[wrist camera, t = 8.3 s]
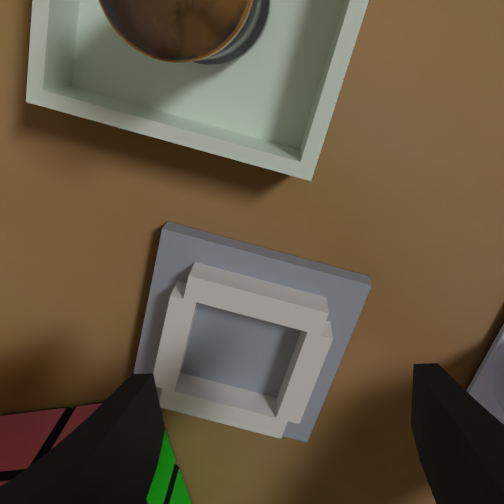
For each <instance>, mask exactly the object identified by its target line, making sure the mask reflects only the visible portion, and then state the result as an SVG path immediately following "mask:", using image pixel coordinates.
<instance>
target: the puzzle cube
mask: <svg viewBox="0 0 504 504" xmlns="http://www.w3.org/2000/svg"><path fill="white" fill-rule="evenodd" d="M101 404H102V403H99V404H91V405H83V406H77V407H76V408H75V410H74V411H73V410H72V409H71V408H59V409H51V410H43V411H35V412H27V413H19V414H11V415H3V416H0V486H2V485H3V484H5V483H6V482H8V481H9V480H11V479H13V478H14V477H15V476H17V475H18V474H20V473H21V472H23V471H24V470H25V469H27V468H28V467H29V466H31V465H32V464H33V463H35V462H36V461H37V460H39V459H40V458H41V457H42V456H44V455H45V454H46V453H48V452H49V451H50V450H51V449H52V448H54V447H55V446H56V445H57V444H58V443H60V442H61V441H62V440H63V439H64V438H65V437H66V436H67V435H69V434H70V433H71V432H72V431H73V430H74V429H75V428H77V427H78V426H79V425H80V424H81V423H82V422H83V421H84V420H86V419H87V418H88V417H89V416H90V415H91V414H92V413H93V412H94V411H95V410H96V409H97V408H98V407H99V406H100V405H101ZM175 461H176V458H175V455H174V452H173V449H172V446H171V444H170V441H169V438H168V435H167V432H166V429H165V432H164V438H163V443H162V448H161V453H160V457H159V462H158V466H157V469H156V472H155V475H154V478H153V481H152V484H151V487H150V490H149V493H148V496H147V499H146V502H145V504H192V503H191V500H190V497H189V494H188V491H187V488H186V485H185V483H184V480H183V477H182V474H181V471H180V468H179V467H178V466H177V465H176V464H175Z"/></svg>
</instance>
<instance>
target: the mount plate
mask: <svg viewBox="0 0 504 504" xmlns="http://www.w3.org/2000/svg"><path fill="white" fill-rule="evenodd" d="M371 286H372V285H371V282H370V279H369V276H366V275H363V274H359V273H355V272H352V271H348V270H344V269H341V268H337V267H333V266H330V265H326V264H322V263H318V262H315V261H311V260H307V259H304V258H300V257H296V256H293V255H289V254H285V253H282V252H278V251H274V250H271V249H267V248H263V247H260V246H256V245H252V244H249V243H245V242H241V241H238V240H234V239H230V238H227V237H223V236H219V235H215V234H212V233H208V232H204V231H201V230H197V229H193V228H190V227H186V226H182V225H179V224H175V223H171V222H168V221H167V223H166V224H165V225H164V227H163V228H162V232H161V237H160V242H159V247H158V252H157V257H156V262H155V267H154V272H153V277H152V283H151V288H150V293H149V298H148V303H147V308H146V313H145V318H144V323H143V328H142V333H141V338H140V343H139V348H138V353H137V358H136V363H135V368H134V373H133V374H148V373H153V374H154V379H155V384H156V389H157V393H158V398H159V403H160V408H164V409H168V410H172V411H176V412H179V413H183V414H187V415H191V416H195V417H199V418H203V419H207V420H210V421H214V422H218V423H222V424H226V425H230V426H234V427H238V428H241V429H245V430H249V431H253V432H257V433H261V434H265V435H268V436H272V437H276V438H280V439H281V438H282V436H284V437H288V438H292V439H296V440H300V441H303V442H308V439H309V437H310V434H311V432H312V430H313V427H314V425H315V422H316V420H317V417H318V415H319V413H320V410H321V408H322V405H323V403H324V400H325V398H326V396H327V393H328V391H329V388H330V386H331V383H332V381H333V378H334V376H335V374H336V371H337V369H338V366H339V364H340V361H341V359H342V357H343V354H344V352H345V349H346V347H347V344H348V342H349V340H350V337H351V335H352V332H353V330H354V327H355V325H356V322H357V320H358V318H359V315H360V313H361V310H362V308H363V305H364V303H365V301H366V298H367V296H368V293H369V291H370V288H371Z"/></svg>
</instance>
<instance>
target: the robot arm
mask: <svg viewBox="0 0 504 504" xmlns="http://www.w3.org/2000/svg"><path fill="white" fill-rule="evenodd" d="M411 426H412V430H413V434H414V438H415V443H416V446H417V450H418V454H419V458H420V461H421V464H422V467H423V469H424V472H425V475H426V477H427V480H428V483H429V485H430V488H431V491H432V493H433V496H434V498H435V501H436V504H504V324H503V326H502V328H501V329H500V331H499V333H498V335H497V337H496V338H495V340H494V342H493V344H492V345H491V347H490V349H489V351H488V353H487V354H486V356H485V358H484V360H483V362H482V363H481V365H480V367H479V369H478V371H477V372H476V374H475V376H474V378H473V379H472V381H471V383H470V385H469V387H468V388H467V390H465V389H464V388H463V387H462V386H460V385H459V384H458V383H457V382H456V381H455V380H454V379H453V378H452V377H451V376H450V375H449V374H448V373H447V372H446V371H445V370H444V369H443V368H442V367H441V366H440V365H439V364H437V363H431V364H414V370H413V392H412V413H411ZM164 432H165V427H164V422H163V417H162V413H161V408H160V403H159V398H158V393H157V389H156V384H155V379H154V374H153V373H148V374H132V375H131V376H130V377H129V378H128V379H127V380H126V381H125V382H124V383H123V384H122V385H121V386H120V387H118V388H117V389H116V390H115V391H114V392H113V393H112V394H111V395H110V396H109V397H108V398H107V399H106V400H105V401H104V402H103V403H102V404H101V405H100V406H99V407H98V408H97V409H96V410H95V411H94V412H93V413H92V414H91V415H90V416H89V417H88V418H87V419H86V420H84V421H83V422H82V423H81V424H80V425H79V426H78V427H77V428H75V429H74V430H73V431H72V432H71V433H70V434H69V435H67V436H66V437H65V438H64V439H63V440H62V441H61V442H60V443H58V444H57V445H56V446H55V447H54V448H52V449H51V450H50V451H49V452H48V453H46V454H45V455H44V456H42V457H41V458H40V459H39V460H37V461H36V462H35V463H33V464H32V465H31V466H29V467H28V468H27V469H25V470H24V471H23V472H21V473H20V474H18V475H17V476H15V477H14V478H13V479H11V480H9V481H8V482H6V483H5V484H3V485H2V486H0V504H145V502H146V499H147V496H148V493H149V490H150V487H151V484H152V481H153V478H154V475H155V472H156V469H157V466H158V462H159V457H160V453H161V448H162V443H163V438H164Z"/></svg>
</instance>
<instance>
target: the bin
mask: <svg viewBox="0 0 504 504" xmlns="http://www.w3.org/2000/svg"><path fill="white" fill-rule="evenodd" d="M368 1H369V0H271V6H270V14H269V18H268V22H267V25H266V28H265V30H264V32H263V34H262V36H261V38H260V39H259V41H258V42H257V43H256V45H255V46H254V47H253V48H252V49H251V50H250V51H249V52H248V53H246V54H245V55H243V56H242V57H240V58H238V59H236V60H234V61H231V62H228V63H222V64H215V65H206V64H199V63H195V62H166V61H161V60H157V59H154V58H151V57H149V56H147V55H144V54H143V53H141V52H139V51H137V50H136V49H134V48H133V47H132V46H130V45H129V44H128V43H127V42H126V41H125V40H124V39H123V38H122V37H121V36H119V34H118V33H117V32H116V31H115V29H114V28H113V27H112V25H111V24H110V22H109V21H108V19H107V18H106V16H105V14H104V12H103V10H102V8H101V5H100V3H99V0H32V15H31V30H30V46H29V61H28V76H27V91H26V102H28V103H31V104H35V105H39V106H42V107H46V108H49V109H53V110H57V111H60V112H64V113H67V114H71V115H75V116H78V117H82V118H85V119H89V120H93V121H96V122H100V123H103V124H107V125H111V126H114V127H118V128H121V129H125V130H129V131H132V132H136V133H139V134H143V135H147V136H150V137H154V138H157V139H161V140H165V141H168V142H172V143H175V144H179V145H183V146H186V147H190V148H193V149H197V150H201V151H204V152H208V153H211V154H215V155H219V156H222V157H226V158H229V159H233V160H237V161H240V162H244V163H247V164H251V165H255V166H258V167H262V168H265V169H269V170H273V171H276V172H280V173H284V174H287V175H291V176H294V177H298V178H302V179H305V180H309V181H311V180H312V176H313V173H314V170H315V167H316V164H317V161H318V158H319V155H320V151H321V148H322V145H323V142H324V139H325V136H326V133H327V130H328V126H329V123H330V120H331V117H332V114H333V111H334V108H335V105H336V101H337V98H338V95H339V92H340V89H341V86H342V83H343V80H344V76H345V73H346V70H347V67H348V64H349V61H350V58H351V55H352V51H353V48H354V45H355V42H356V39H357V36H358V33H359V30H360V26H361V23H362V20H363V17H364V14H365V11H366V8H367V5H368Z"/></svg>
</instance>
